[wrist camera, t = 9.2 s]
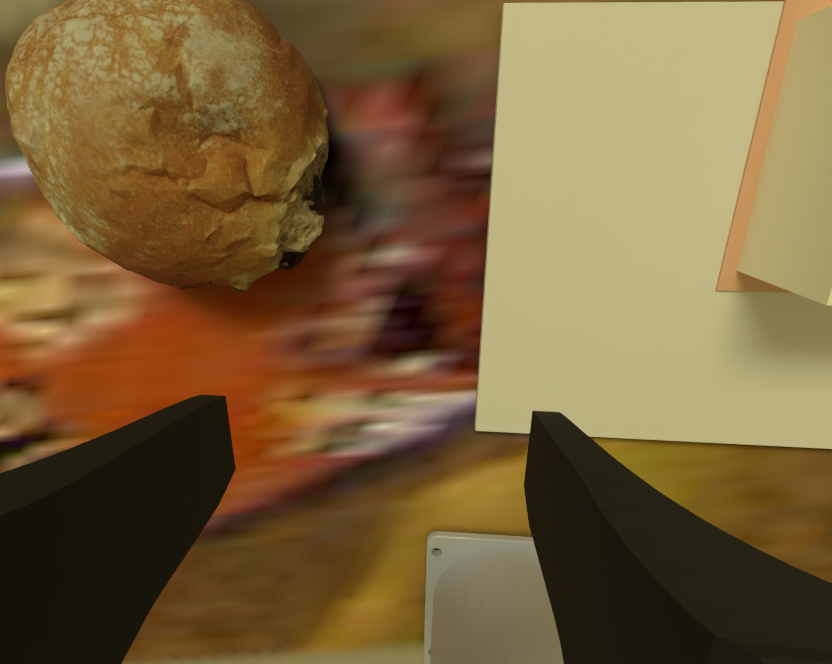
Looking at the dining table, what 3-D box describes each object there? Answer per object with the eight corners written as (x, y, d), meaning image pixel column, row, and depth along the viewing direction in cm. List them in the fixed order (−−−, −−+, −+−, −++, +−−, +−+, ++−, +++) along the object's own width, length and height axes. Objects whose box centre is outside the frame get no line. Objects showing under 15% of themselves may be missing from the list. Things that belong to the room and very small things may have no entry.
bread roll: (306, 19, 20) (154, -200, 12) (398, 237, 18) (291, 144, 10) (126, 136, 22) (-102, 14, 14) (194, 340, 20) (-21, 328, 12)
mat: (847, 442, 20) (860, 451, 20) (474, 423, 21) (475, 431, 21) (1018, -6, 15) (1044, -13, 14) (502, -2, 16) (504, -9, 15)
